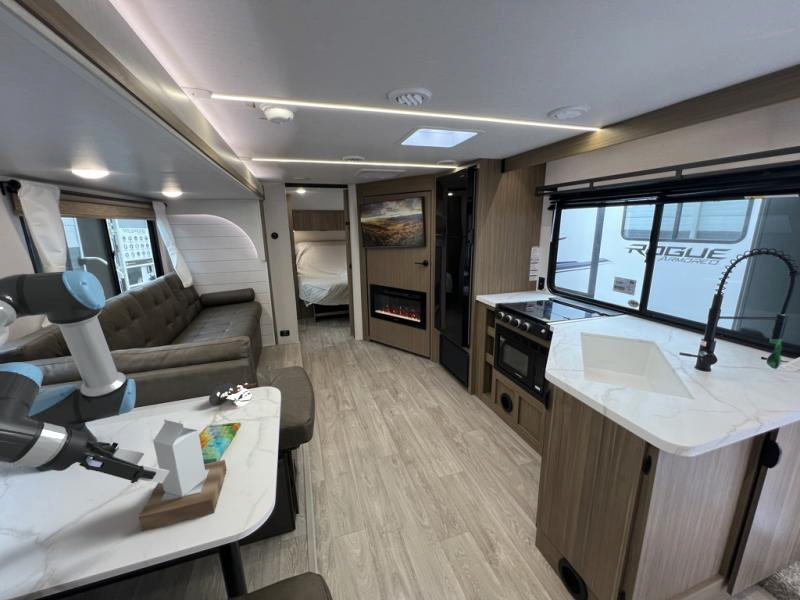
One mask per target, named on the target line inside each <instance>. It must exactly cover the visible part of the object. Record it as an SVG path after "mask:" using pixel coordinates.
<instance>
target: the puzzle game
mask: <svg viewBox="0 0 800 600" xmlns="http://www.w3.org/2000/svg"><path fill="white" fill-rule="evenodd" d="M241 426H242V423H241V421H240V422H229V423H219V424H207V425H206V426H205V427H204V429H203V430H202V431H201V432H200V434H199V439H200V444H201V450H202V455H203V461H204V464H207V463H212V462H217V461H221V458H222V456H223V455H224V454H225V452H226V451H227V449H228V447H229V446H230V445H231V443H232V442H233V440H234V439H233V438H235V437H236V436H237V432H238V431H239V429H241Z"/></svg>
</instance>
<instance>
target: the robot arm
mask: <svg viewBox="0 0 800 600" xmlns="http://www.w3.org/2000/svg"><path fill="white" fill-rule="evenodd" d="M105 306H106V296H105V291H104V289H103V285H102V284H101V283H100V280H99V279H98V278H97V277H96V276H95V275H94V274H93V273H92V272H90V271H86V270H85V271H84V270H65V271H55V272H53V271H52V272H51V271H50V272H37V273H36V272H35V273H20V274H19V273H18V274H12V275H7V276H5V277H2V278H0V333H1V331H3V328H6V327H8V326H10V325H12V324H13V323H14V322H15V321H16V320H17V319H20V318H24V317H33V316H41V315H45V317H46V318H47V320H48V322H49V323H50V324H52V325H56V326H58V327H59V329H60V331H61V333H62V336H63V339H64V341H65V342H66V343H65V344H66V345H67V348H68V350H69V352H70V354H71V356H72V359H73V361H74V363H75V366H76V368H77V370H78V373H79V375H80V377H81V379H82V381H83V384H81V386H80V388H78V386H77V385H76V384H66V385H61V386H58V387H54V388H52V389H48V390H46V391H43V392H42V393H40V391H41V386H42V382H43V379H44V374H43V371H42V370H41V369H40V368H39V367H38V366H37V365H34V364H31V363H26V362H22V361H21V362H19V361H18V362H16V361H15V362H14V361H13V362H8V363H7V362H6V363H5V364H2V365H0V462H1V463H8V464H13V467H15V468H18V469H19V468H21V467H22V466H23V465H24V466H27V467H32V468H33V467H34V469H36V470H37V471H56V472H62V471H65V470H67V469H68V468H70V467H71V466H73V465H74V464H76V463H78V465H79V466H80V467H83V468H84V469H86V470H88V471H95V472H99V473H102V474H106V475H110V476H113V477H117V478H121V479H124V480H128V481H130V482H129V483H130V484H135V483H138V481H139V480H140V481H146V482H151V483H156V484H158V483H163V481H164V480H165V478H166V476H167V475H168V473H169V472H170V471H169V470H165V469H160V468H159V467H154V466H149V465H145V464H142V465H138V464H139V462H140V461H141V460H142V458H143V457H144V455H145V453H144V452H141V451H136V450H132V449H128V448H124V447H120V446H119V443H118V442H113V443H112V444H111V443H110V442H104V441H103V442H102V441H98V439H97V437H96V436H95V435H94V434H93V433H92V431H91V430H90V429H89V428H88V427H87V425H86V424H87V423H89V422H94V421H98V420H103V419H108V418H111V417H116V416H118V417H119V416H120V415H124V414H128V413H130V412H131V411H132V410H133V409H134V407H135V404H136V398H137V397H136V396H137V395H136V394H137V393H136V391H137V389H136V382H135V379H134V378H127V377H126V375H125V373H123V372H120V371H118V370H117V367H116V364H115V362H114V359H113V356H112V353H111V351H110V348H109V345H108V343H107V340H106V337H105V335H104V332H103V329H102V326H101V324H100V321H99V319H98V318H99V317H98V316H99V315H100V314H101V313H102V308H104V307H105ZM38 393H39V394H38Z"/></svg>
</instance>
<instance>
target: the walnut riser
mask: <svg viewBox="0 0 800 600" xmlns="http://www.w3.org/2000/svg"><path fill="white" fill-rule="evenodd" d="M204 467H205V472H206V479H205V480H203V481H202V482H201V483H199V484H198V485H197V486H196V487H194V488H193V489H192V490H191V491H189V492H188V493H187V494H185V495H184V496H183V497H180V496H178V495H175V494H172V493H169V492H166V491H164V489H163V484H162V483H156V486H155V488H154V489H153V491H152V493H151V494H150V496H149V498H148V499H147V501H146V503H145V504H144V506H143V508H142V510H141V512H140V514H139V515H138V516H137V517H138V522H139V526H140V531H142V532H143V531H147V530H151V529H154V528H158V527H162V526H167V525H171V524H175V523H178V522H182V521H186V520H190V519H194V518H197V517H202V516H207V515H211V514H214V513H215V511H216V508H217V504H218V502H219V499H220V495H221V492H222V490H223V489H222V488H223V485H224V482H225V479H224V478H226V476H227V473H226V471H228V469H227V464H226V459H222V460H221V459H220V460H219V461H217V462H212V463H207V464H204ZM225 475H226V476H225Z"/></svg>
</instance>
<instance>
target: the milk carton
mask: <svg viewBox="0 0 800 600" xmlns="http://www.w3.org/2000/svg"><path fill="white" fill-rule="evenodd" d="M163 421H164V422H163V425H162V426H161V428H160V430H159V431H158V433H156V436H155V438H153V440H152V441H153V445H154V450H155V454H156V459H157V465H158V468H160V469H165V470H169V471H170V472H169V473H168V475H167V476H166V478H165V480H164V481H163V483H162V484H163V489H164V491H166V492H169V493H172V494H175V495H178V496H180V497H183V496H184V495H185V494H187V493H188V492H189V491H191V490H192V489H193V488H194V487H196V486H197V485H198V484H199V483H201V482H202V481H203V480H205V479H206V472H205V467H204V461H203V455H202V450H201V444H200V439H199V430H198V429H195V428H191V427H188V425H189V422H187V421H180V420H179V422H178V421H174V420H171V419H163Z"/></svg>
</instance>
